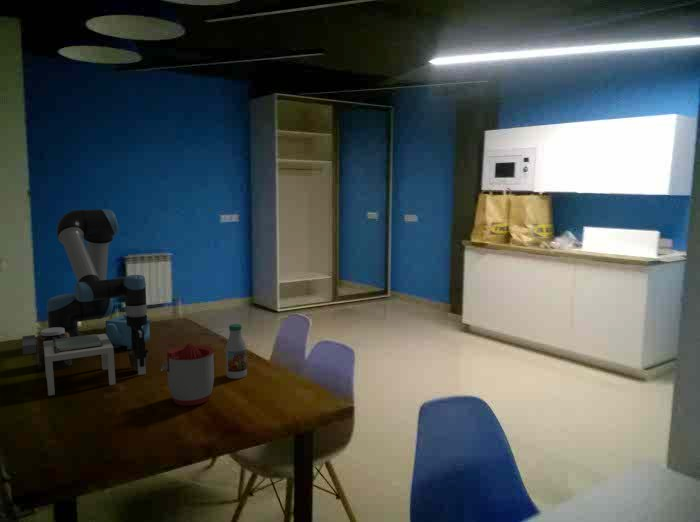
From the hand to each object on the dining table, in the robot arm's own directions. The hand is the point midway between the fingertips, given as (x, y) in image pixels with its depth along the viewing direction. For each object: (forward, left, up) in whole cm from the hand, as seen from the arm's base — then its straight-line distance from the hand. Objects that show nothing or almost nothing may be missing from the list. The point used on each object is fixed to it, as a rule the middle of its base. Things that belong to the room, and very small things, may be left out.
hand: (139, 370), depth 211 cm
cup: (0, 0, 0) cm, 0 cm away
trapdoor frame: (0, -21, 0) cm, 21 cm away
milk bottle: (+25, +31, 0) cm, 40 cm away
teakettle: (-38, +3, 0) cm, 38 cm away
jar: (-24, -28, 0) cm, 37 cm away
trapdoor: (0, -26, +14) cm, 30 cm away
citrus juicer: (+40, +9, 0) cm, 41 cm away
